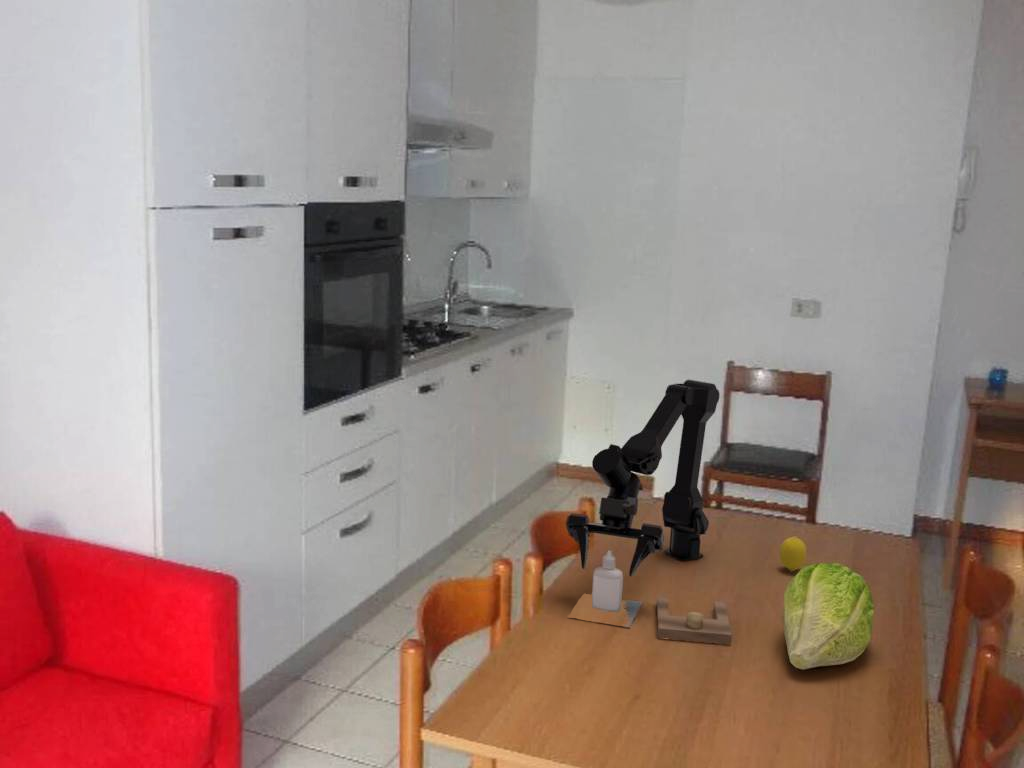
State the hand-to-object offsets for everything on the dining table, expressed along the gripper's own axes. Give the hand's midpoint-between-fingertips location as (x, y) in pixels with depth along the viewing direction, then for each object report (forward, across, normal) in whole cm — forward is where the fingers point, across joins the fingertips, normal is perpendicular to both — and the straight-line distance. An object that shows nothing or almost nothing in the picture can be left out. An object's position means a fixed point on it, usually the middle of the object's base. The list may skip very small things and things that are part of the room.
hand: (606, 571), depth 188 cm
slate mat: (+5, 0, +7) cm, 9 cm away
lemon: (-20, +33, +33) cm, 51 cm away
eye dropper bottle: (+5, 0, +7) cm, 8 cm away
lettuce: (+7, +40, +6) cm, 41 cm away
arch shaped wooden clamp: (+5, +17, +7) cm, 19 cm away
